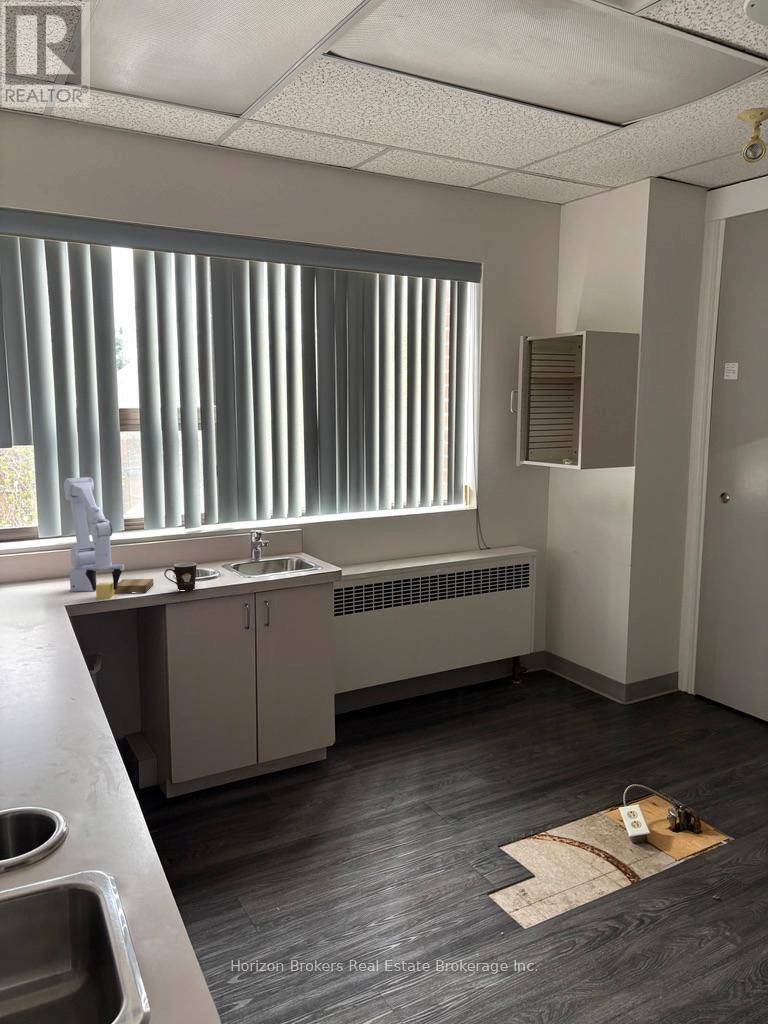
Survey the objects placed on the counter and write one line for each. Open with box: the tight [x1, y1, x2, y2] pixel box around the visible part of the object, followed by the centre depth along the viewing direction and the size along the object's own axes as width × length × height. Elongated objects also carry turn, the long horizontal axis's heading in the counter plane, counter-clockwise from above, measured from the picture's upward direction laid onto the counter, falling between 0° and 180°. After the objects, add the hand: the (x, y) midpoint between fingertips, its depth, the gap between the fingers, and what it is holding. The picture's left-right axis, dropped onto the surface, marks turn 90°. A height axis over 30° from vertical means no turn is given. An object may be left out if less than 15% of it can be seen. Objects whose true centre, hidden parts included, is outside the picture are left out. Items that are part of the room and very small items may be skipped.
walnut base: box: [114, 578, 154, 595], centre depth 302 cm, size 12×12×3 cm
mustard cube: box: [95, 582, 115, 599], centre depth 291 cm, size 5×5×5 cm
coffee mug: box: [163, 562, 198, 592], centre depth 301 cm, size 12×9×10 cm
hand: (105, 589), depth 291 cm, fingers open, 7 cm apart
